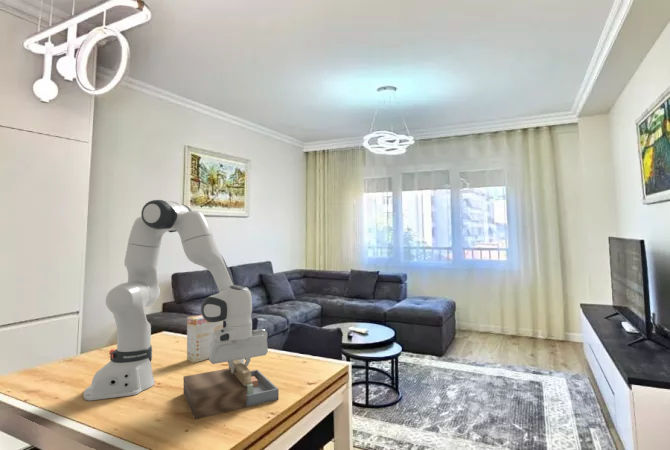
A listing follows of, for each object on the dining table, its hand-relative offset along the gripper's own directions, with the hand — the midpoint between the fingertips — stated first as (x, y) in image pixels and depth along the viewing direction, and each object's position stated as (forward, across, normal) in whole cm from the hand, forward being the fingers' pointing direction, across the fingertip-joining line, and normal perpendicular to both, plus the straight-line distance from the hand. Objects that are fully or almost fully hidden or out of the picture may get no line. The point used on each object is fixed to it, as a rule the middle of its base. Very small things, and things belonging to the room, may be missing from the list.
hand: (239, 371), depth 129 cm
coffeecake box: (+8, +2, -50) cm, 51 cm away
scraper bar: (+1, 0, 0) cm, 1 cm away
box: (+8, -5, 0) cm, 9 cm away
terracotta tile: (+5, -5, -5) cm, 9 cm away
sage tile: (+5, 0, +6) cm, 8 cm away
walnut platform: (+8, +9, 0) cm, 12 cm away
